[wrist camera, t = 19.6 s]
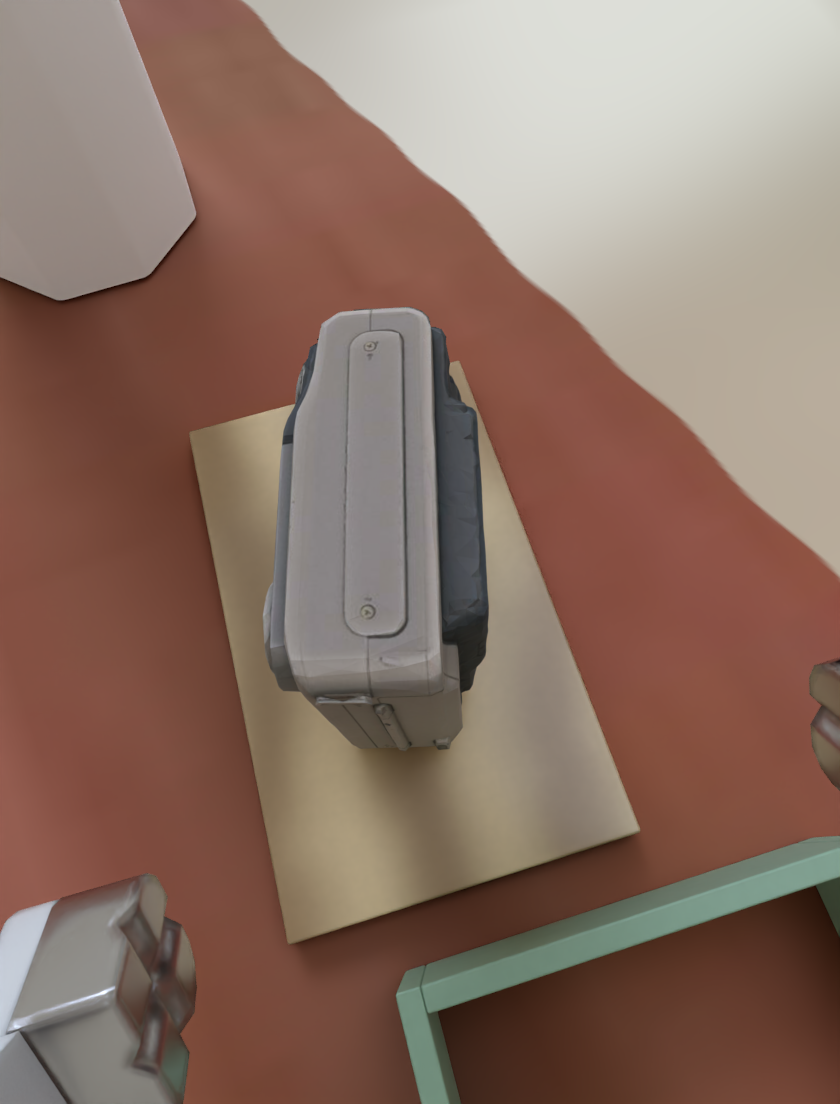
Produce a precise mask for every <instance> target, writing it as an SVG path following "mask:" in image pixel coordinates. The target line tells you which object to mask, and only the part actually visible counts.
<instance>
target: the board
mask: <svg viewBox="0 0 840 1104" xmlns="http://www.w3.org/2000/svg"><path fill="white" fill-rule="evenodd" d="M449 374H450V375H451V376H452V377H453V380H454V382H455V384H456V385H457V387H458V390H459V392H460V395H461V400H462V402H464V403H465V404H466V406H469V407H472V408H473V409H474V410H475V411H476V413H477V419H478V442H479V455H480V467H481V481H482V503H483V526H484V538H485V549H486V569H487V589H488V602H489V618H488V635H487V640H486V655H485V657H484V659H483V661H482V662H481V663H480V664H479V665H478V666H477V669H476V672H475V676H474V681H473V685H472V687H471V689H470V690H468V691H465V692H462V693H461V694H462V705H461V707H462V722H463V728H462V729H461V731H460V732H459V733H458V735H457V736H456V737H455V738H454V740H453V741H452V742H451V745H450V749H445V750H438V749H437V747H436V746H430V747H409V748H408V749H407V750H406V751H401V750H399V749H398V747H396V748H368V749H360V748H358V747H356V746H354V745H352V744H351V743H350V742H349V741H348V740H347V739H346V738H345V737H344V736H343V735H342V734H341V733H340V732H339V730H338V729H337V728H336V727H335V726H334V725H332V724H331V723H330V722H329V721H328V720H327V719H326V718H325V717H324V716H323V715H322V714H321V713H320V712H319V711H318V710H317V709H316V708H315V707H314V706H313V705H312V704H311V703H310V702H309V701H308V700H307V699H306V698H305V697H304V695H303V694H302V693H301V692H291V691H283V690H282V689H280V688H279V686H278V683H277V680H276V677H275V674H274V673H273V672H272V671H271V669H270V667H269V664H268V661H267V658H266V656H265V645H264V630H263V612H264V606H265V600H266V596H267V592H268V589H269V587H270V585H271V584H272V582H273V575H274V557H275V540H276V524H277V508H278V492H279V474H280V458H281V449H282V440H283V431H284V428H285V425H286V422H287V419H288V417H289V416H290V414H291V412H292V410H293V408H294V406H295V404H293V405H289V406H285V407H281V408H278V409H274V410H270V411H266V412H263V413H259V414H255V415H251V416H247V417H244V418H240V419H236V420H232V421H229V422H225V423H221V424H217V425H213V426H210V427H206V428H202V429H198V430H195V431H191V432H189V436H190V441H191V447H192V452H193V457H194V462H195V467H196V472H197V478H198V483H199V488H200V493H201V498H202V503H203V509H204V514H205V519H206V524H207V529H208V534H209V540H210V545H211V550H212V555H213V560H214V565H215V571H216V576H217V581H218V586H219V591H220V597H221V602H222V607H223V612H224V617H225V622H226V628H227V633H228V638H229V643H230V648H231V653H232V659H233V664H234V669H235V674H236V679H237V684H238V690H239V695H240V700H241V705H242V710H243V715H244V721H245V726H246V731H247V736H248V741H249V746H250V752H251V757H252V762H253V767H254V772H255V777H256V783H257V788H258V793H259V798H260V803H261V808H262V814H263V819H264V824H265V829H266V834H267V839H268V845H269V850H270V855H271V860H272V865H273V870H274V876H275V881H276V886H277V891H278V896H279V901H280V907H281V912H282V917H283V922H284V927H285V932H286V938H287V942H288V944H290V945H291V944H294V943H298V942H301V941H304V940H307V939H310V938H313V937H316V936H319V935H322V934H326V933H329V932H332V931H335V930H338V929H341V928H344V927H347V926H350V925H354V924H357V923H360V922H363V921H366V920H369V919H372V918H375V917H378V916H382V915H385V914H388V913H391V912H394V911H397V910H400V909H403V908H406V907H410V906H413V905H416V904H419V903H422V902H425V901H428V900H431V899H434V898H438V897H441V896H444V895H447V894H450V893H453V892H456V891H459V890H462V889H466V888H469V887H472V886H475V885H478V884H481V883H484V882H487V881H490V880H494V879H497V878H500V877H503V876H506V875H509V874H512V873H515V872H518V871H522V870H525V869H528V868H531V867H534V866H537V865H540V864H543V863H546V862H550V861H553V860H556V859H559V858H562V857H565V856H568V855H571V854H574V853H578V852H581V851H584V850H587V849H590V848H593V847H596V846H599V845H602V844H606V843H609V842H612V841H615V840H618V839H621V838H624V837H627V836H630V835H634V834H637V833H639V832H640V827H639V825H638V822H637V820H636V817H635V814H634V812H633V809H632V807H631V804H630V801H629V799H628V796H627V794H626V791H625V788H624V786H623V783H622V781H621V778H620V775H619V773H618V770H617V768H616V765H615V763H614V760H613V757H612V755H611V752H610V750H609V747H608V744H607V742H606V739H605V737H604V734H603V731H602V729H601V726H600V724H599V721H598V718H597V716H596V713H595V711H594V708H593V706H592V703H591V700H590V698H589V695H588V693H587V690H586V687H585V685H584V682H583V680H582V677H581V674H580V672H579V669H578V667H577V664H576V661H575V659H574V656H573V654H572V651H571V649H570V646H569V643H568V641H567V638H566V636H565V633H564V630H563V628H562V625H561V623H560V620H559V617H558V615H557V612H556V610H555V607H554V605H553V602H552V599H551V597H550V594H549V592H548V589H547V586H546V584H545V581H544V579H543V576H542V573H541V571H540V568H539V566H538V563H537V560H536V558H535V555H534V553H533V550H532V548H531V545H530V542H529V540H528V537H527V535H526V532H525V529H524V527H523V524H522V522H521V519H520V516H519V514H518V511H517V509H516V506H515V503H514V501H513V498H512V496H511V493H510V491H509V488H508V485H507V483H506V480H505V478H504V475H503V472H502V470H501V467H500V465H499V462H498V459H497V457H496V454H495V452H494V449H493V446H492V444H491V441H490V439H489V436H488V434H487V431H486V428H485V426H484V423H483V421H482V418H481V415H480V413H479V410H478V408H477V405H476V402H475V400H474V397H473V395H472V392H471V390H470V387H469V384H468V382H467V379H466V377H465V374H464V371H463V369H462V366H461V364H460V362H459V361H455V362H451V363H450V367H449Z"/></svg>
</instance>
